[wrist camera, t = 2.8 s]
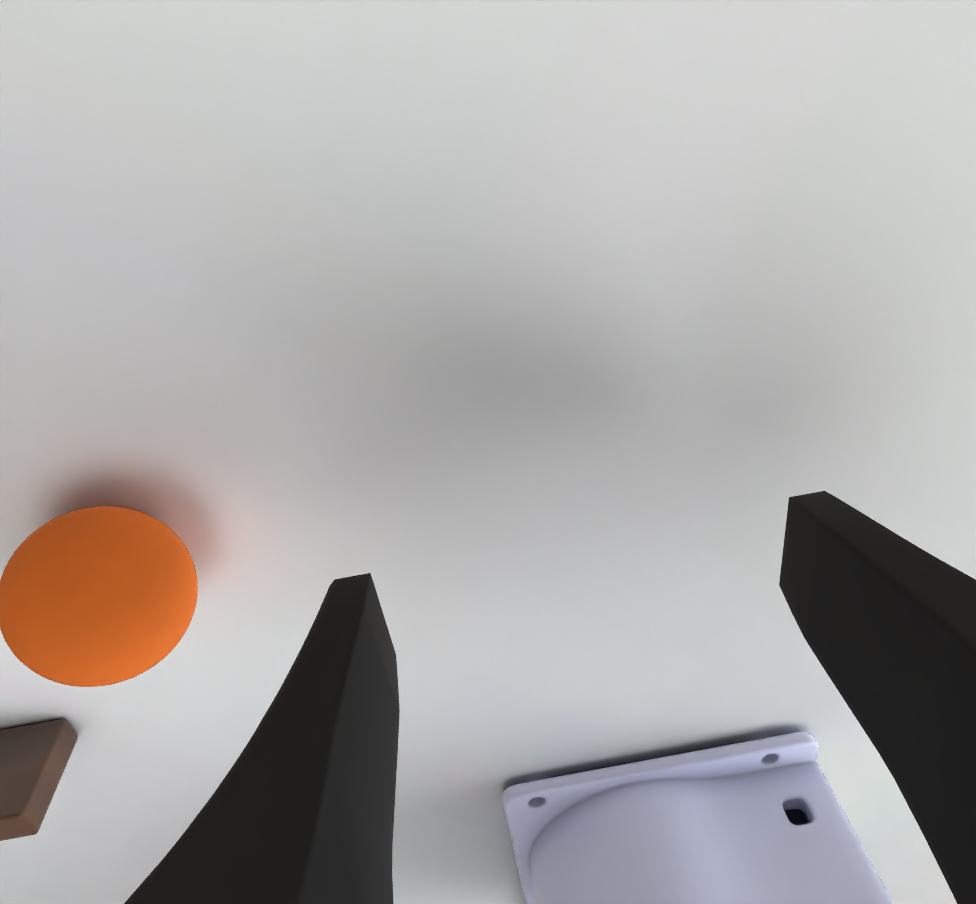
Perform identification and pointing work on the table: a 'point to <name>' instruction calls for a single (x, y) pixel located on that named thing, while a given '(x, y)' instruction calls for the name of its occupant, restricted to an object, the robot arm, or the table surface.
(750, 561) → the table surface
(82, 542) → the ball
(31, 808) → the brown u-shaped wall
